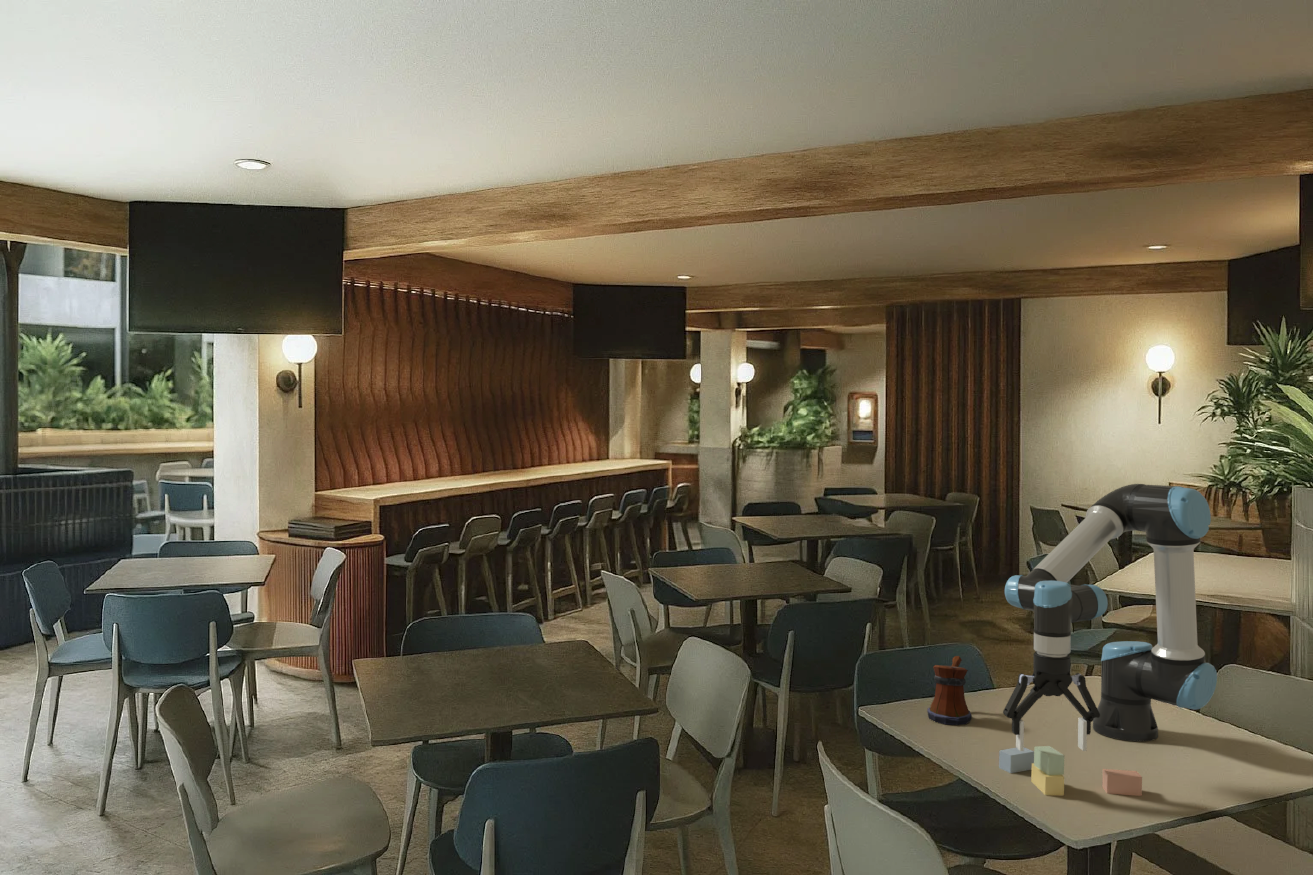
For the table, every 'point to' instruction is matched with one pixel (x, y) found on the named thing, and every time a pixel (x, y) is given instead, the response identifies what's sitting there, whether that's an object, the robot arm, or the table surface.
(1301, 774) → the table surface
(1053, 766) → the sage brick
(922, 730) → the table surface
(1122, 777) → the terracotta brick
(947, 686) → the mug
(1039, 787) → the ochre brick
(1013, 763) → the slate brick
